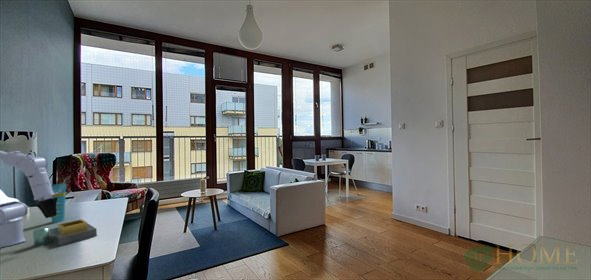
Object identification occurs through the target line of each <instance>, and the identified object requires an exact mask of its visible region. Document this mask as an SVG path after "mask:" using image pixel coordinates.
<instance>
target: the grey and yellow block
mask: <svg viewBox="0 0 591 280" xmlns="http://www.w3.org/2000/svg"><path fill="white" fill-rule="evenodd" d="M97 235H98V233H97V228H96V227H95V226H93V225H91V224H90V223H88V221H85V220H84V219H82V218H81V219H77V220H73V221H68V222H63V223H57V227H54V228H49V238H50V239H52V241H54V243H55V244H56V245H57V246H58V247H60V246H64V245H68V244H73V243H75V242H79V241H83V240H86V239H91V238H94V237H97Z"/></svg>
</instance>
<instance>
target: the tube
mask: <svg viewBox="0 0 591 280" xmlns="http://www.w3.org/2000/svg"><path fill="white" fill-rule="evenodd" d="M51 187H52V190H53V193H56V192H58V194H55V195H53V196H52V199H54V198H58V199H57V203H56V212H57V214H56V216H53V217H50V218H51V223H60V222H64V221H65V220H66V217H65V216H66V190H67V183H57V184H51Z"/></svg>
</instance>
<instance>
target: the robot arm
mask: <svg viewBox="0 0 591 280" xmlns="http://www.w3.org/2000/svg"><path fill="white" fill-rule="evenodd" d="M0 161H2V162H3V164H4V165H6V166H8V167H9V166H10V167H14V168H18V169H19V170H20V171H21V172H22V173H24V176H25V177H27V181H28V183H29V186H30V189H31V191H32V195H33V200H34V201H38V202H37V203H35V204H34V206H35V207H36V208H38V209H39V210H40V212H41V213H42V214H43V216H44V218H46V219H48V218H51V217H53V216H56V214H57V212H56V203H57V199H58V198H54V199H52V196H53V195H55V194H58V192H56V193H53V190H52V187H51V185H52V184H51V181H50V177H49V174H48V172H47V167H48V166H49V163H48V162H49V161H48V159H47V158H45V157H43V156H41V155H40V156H33V155H32V154H26V153H22V151H19V150H14V151H10V152H6V151H3V150H0ZM28 211H29V208H28V206H27V204H26V203H23V202H21V201H20V200H19V199H17V198H13V197H9V196H7V195H6V194H5V193H4V191H2V189H0V248H5V247H10V246H13V245H17V244H22V243H25V242H27V240H26V238H25V236H24V228H23V227H24V225H23V221H24V220H23V219H25V217H26V215H27V214H28Z"/></svg>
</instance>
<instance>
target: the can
mask: <svg viewBox="0 0 591 280" xmlns="http://www.w3.org/2000/svg"><path fill="white" fill-rule="evenodd" d="M49 229H50V227H40V228H39V227H38V228H36V229H34V230H33V231H32V232H33V246H34V247H35V246H36V247H42V245H43V246H45V245H49V244H50V242H51V241H50V239H51V237H50V232H49Z"/></svg>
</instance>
